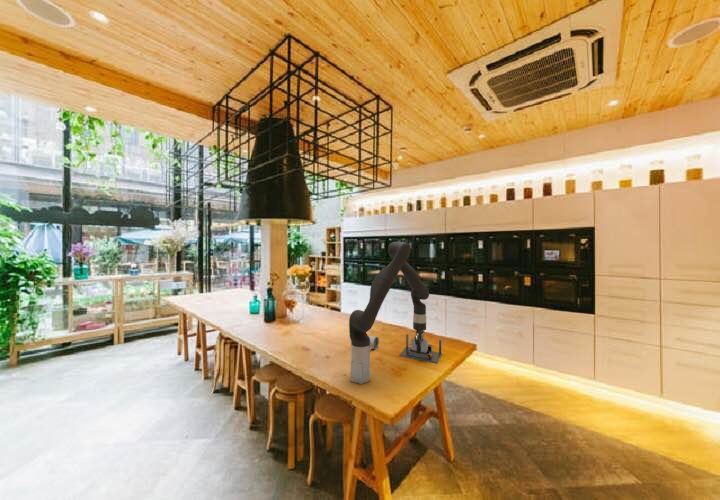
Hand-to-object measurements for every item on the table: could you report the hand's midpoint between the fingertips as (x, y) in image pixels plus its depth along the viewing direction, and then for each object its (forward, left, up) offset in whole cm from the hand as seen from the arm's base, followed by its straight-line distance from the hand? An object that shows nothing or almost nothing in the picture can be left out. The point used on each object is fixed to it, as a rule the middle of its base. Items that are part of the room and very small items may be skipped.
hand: (419, 350), depth 157 cm
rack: (+3, 0, -4) cm, 5 cm away
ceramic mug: (-1, +31, -4) cm, 32 cm away
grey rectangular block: (0, 0, -2) cm, 2 cm away
